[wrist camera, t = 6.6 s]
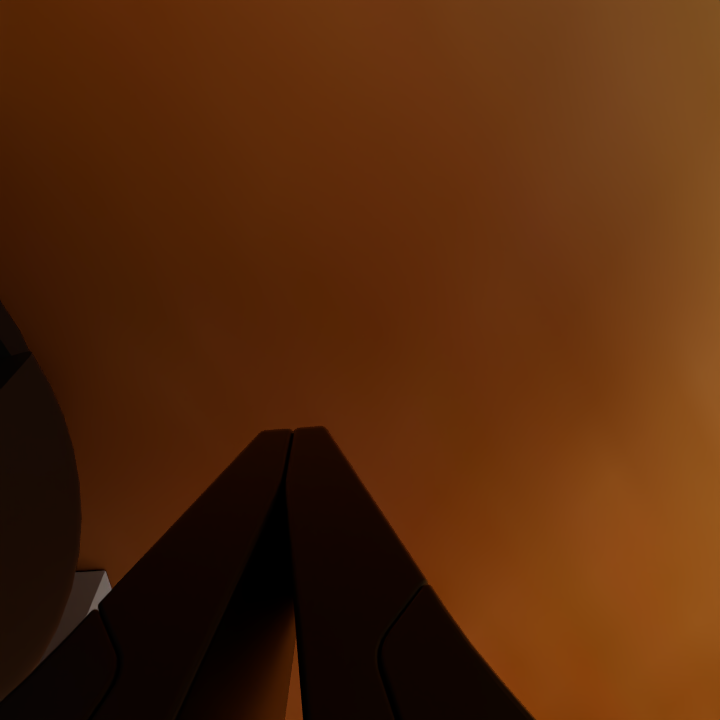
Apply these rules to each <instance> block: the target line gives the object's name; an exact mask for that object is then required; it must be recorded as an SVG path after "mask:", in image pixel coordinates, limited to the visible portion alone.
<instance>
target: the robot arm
mask: <svg viewBox="0 0 720 720" xmlns="http://www.w3.org/2000/svg"><path fill="white" fill-rule="evenodd" d="M295 639H296V640H297V652H298V664H299V676H300V688H301V700H302V712H303V720H536V719H535V718H534V717H533V716H532V715H531V713H530V712H529V711H528V710H527V709H526V708H525V707H524V705H523V704H522V703H521V702H520V701H519V700H518V699H517V698H516V696H515V695H514V694H513V693H512V692H511V691H510V690H509V688H508V687H507V686H506V685H505V684H504V683H503V681H502V680H501V679H500V678H499V676H498V675H497V674H496V673H495V672H494V670H493V669H492V668H491V667H490V666H489V664H488V663H487V662H486V661H485V660H484V658H483V657H482V656H481V655H480V654H479V652H478V651H477V650H476V649H475V647H474V646H473V645H472V644H471V642H470V641H469V639H468V638H467V637H466V635H465V634H464V632H463V631H462V630H461V628H460V627H459V626H458V624H457V623H456V621H455V620H454V619H453V617H452V616H451V614H450V613H449V612H448V610H447V609H446V607H445V606H444V604H443V603H442V601H441V600H440V598H439V597H438V595H437V594H436V592H435V591H434V589H433V588H432V586H431V585H428V582H427V579H426V578H425V576H424V575H423V573H422V572H421V570H420V569H419V567H418V566H417V564H416V563H415V561H414V560H413V558H412V557H411V555H410V554H409V552H408V551H407V549H406V548H405V546H404V545H403V543H402V542H401V540H400V539H399V537H398V536H397V534H396V533H395V531H394V530H393V528H392V527H391V525H390V523H389V522H388V520H387V519H386V517H385V516H384V514H383V513H382V511H381V510H380V508H379V507H378V505H377V504H376V502H375V501H374V499H373V498H372V496H371V495H370V493H369V492H368V490H367V489H366V487H365V486H364V484H363V483H362V481H361V480H360V478H359V477H358V475H357V474H356V472H355V471H354V469H353V468H352V466H351V465H350V463H349V462H348V460H347V459H346V457H345V456H344V454H343V453H342V451H341V450H340V448H339V447H338V445H337V444H336V442H335V441H334V439H333V438H332V436H331V435H330V433H329V431H328V430H327V429H326V428H325V427H323V426H315V427H303V428H297V429H296V430H295V431H294V433H293V431H292V430H291V429H276V430H264V431H262V432H260V433H259V434H258V435H257V436H256V437H255V438H254V439H253V440H252V442H251V443H250V444H249V445H248V446H247V447H246V448H245V449H244V450H243V451H242V452H241V453H240V454H239V455H238V456H237V457H236V458H235V460H234V461H233V462H232V463H231V464H230V465H229V466H228V467H227V468H226V469H225V470H224V471H223V472H222V473H221V474H220V475H219V476H218V478H217V479H216V480H215V481H214V482H213V483H212V484H211V485H210V486H209V487H208V488H207V489H206V490H205V491H204V492H203V493H202V494H201V496H200V497H199V498H198V499H197V500H196V501H195V502H194V503H193V504H192V505H191V506H190V507H189V508H188V509H187V510H186V511H185V512H184V514H183V515H182V516H181V517H180V518H179V519H178V520H177V521H176V522H175V523H174V524H173V525H172V526H171V527H170V528H169V529H168V530H167V532H166V533H165V534H164V535H163V536H162V537H161V538H160V539H159V540H158V541H157V542H156V543H155V544H154V545H153V546H152V547H151V548H150V550H149V551H148V552H147V553H146V554H145V555H144V556H143V557H142V558H141V559H140V560H139V561H138V562H137V563H136V564H135V565H134V566H133V568H132V569H131V570H130V571H129V572H128V573H127V574H126V575H125V576H124V577H123V578H122V579H121V580H120V581H119V582H118V583H117V584H116V586H115V587H114V588H113V589H112V590H111V591H110V592H109V593H108V594H107V595H106V596H105V597H104V598H103V599H102V600H101V601H100V602H99V604H98V610H97V609H93V610H92V611H91V612H90V613H89V614H88V615H87V616H86V617H85V618H84V619H83V620H82V621H81V622H80V623H79V624H78V625H77V626H76V628H75V629H74V630H73V631H72V632H71V633H70V634H69V635H68V636H67V637H66V638H65V639H64V640H63V641H62V642H61V643H60V644H59V645H58V646H57V647H56V648H55V649H54V650H53V651H52V652H51V653H50V654H49V655H48V656H47V657H46V658H45V659H44V660H43V661H42V662H41V663H40V664H39V665H38V666H37V667H36V668H35V669H34V670H33V671H32V672H31V673H30V674H29V675H28V676H27V677H26V678H25V679H24V680H23V681H22V682H21V683H20V684H19V685H18V686H17V687H16V688H15V689H13V690H12V691H11V692H10V693H9V694H8V695H7V696H6V697H5V698H4V699H3V700H2V701H1V702H0V720H285V714H286V706H287V699H288V692H289V684H290V677H291V669H292V662H293V654H294V647H295Z"/></svg>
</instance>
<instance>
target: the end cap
mask: <svg viewBox="0 0 720 720" xmlns="http://www.w3.org/2000/svg"><path fill="white" fill-rule="evenodd" d="M81 519H82V518H81V500H80V483H79V477H78V472H77V466H76V460H75V455H74V449H73V446H72V442H71V439H70V436H69V432H68V429H67V426H66V423H65V419H64V416H63V413H62V411H61V409H60V407H59V404H58V402H57V400H56V397H55V395H54V393H53V390H52V388H51V386H50V383H49V382H48V380H47V378H46V376H45V375H44V373H43V371H42V370H41V368H40V366H39V364H38V363H37V361H36V359H35V357H34V356H33V354H32V352H30V351H29V349H28V347H27V345H26V343H25V341H24V339H23V337H22V335H21V332H20V330H19V329H18V327H17V326H16V324H15V323H14V321H13V320H12V318H11V317H10V315H9V314H8V312H7V311H6V309H5V308H4V306H3V305H2V303H1V301H0V702H1V701H2V700H3V699H4V698H5V697H6V696H7V695H8V694H9V693H10V692H11V691H12V690H13V689H15V688H16V687H17V686H18V685H19V684H20V683H21V682H22V681H23V680H24V679H25V678H26V677H27V676H28V675H29V674H30V673H31V672H32V671H33V670H34V669H35V668H36V666H37V665H38V663H39V662H40V660H41V658H42V656H43V654H44V653H45V651H46V649H47V647H48V645H49V644H50V642H51V640H52V638H53V636H54V634H55V633H56V631H57V629H58V626H59V623H60V621H61V618H62V615H63V612H64V610H65V607H66V604H67V601H68V599H69V596H70V593H71V590H72V586H73V581H74V576H75V571H76V566H77V561H78V557H79V547H80V533H81Z"/></svg>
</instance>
